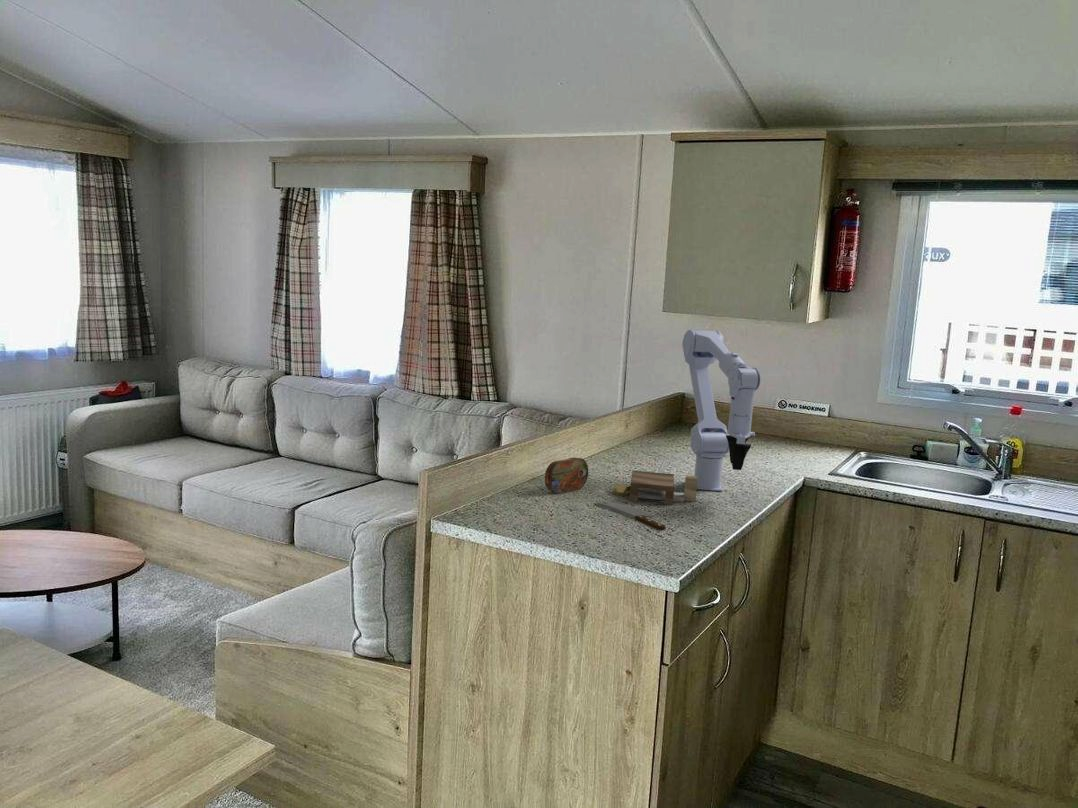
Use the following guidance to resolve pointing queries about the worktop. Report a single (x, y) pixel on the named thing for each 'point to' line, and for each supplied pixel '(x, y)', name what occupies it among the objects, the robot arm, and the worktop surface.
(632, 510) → the kitchen knife
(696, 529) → the worktop surface
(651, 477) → the low shelf
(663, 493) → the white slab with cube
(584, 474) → the tin
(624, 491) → the brass token
